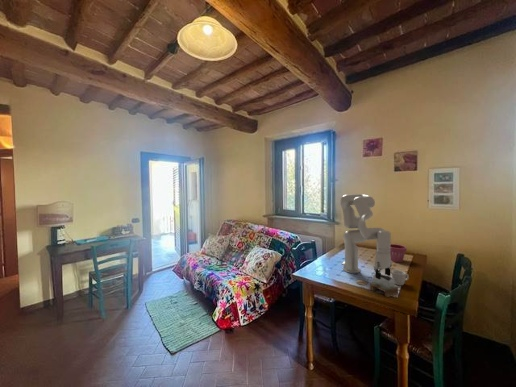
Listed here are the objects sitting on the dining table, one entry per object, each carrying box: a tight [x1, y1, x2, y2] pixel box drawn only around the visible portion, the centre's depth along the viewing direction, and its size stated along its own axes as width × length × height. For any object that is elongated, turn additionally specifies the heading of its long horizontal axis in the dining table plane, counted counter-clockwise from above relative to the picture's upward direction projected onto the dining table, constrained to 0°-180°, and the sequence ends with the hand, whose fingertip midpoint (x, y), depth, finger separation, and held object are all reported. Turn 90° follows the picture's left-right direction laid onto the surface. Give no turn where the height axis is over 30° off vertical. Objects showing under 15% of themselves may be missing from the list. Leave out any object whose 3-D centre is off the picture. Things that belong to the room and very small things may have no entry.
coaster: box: [355, 279, 368, 286], centre depth 154 cm, size 7×7×1 cm
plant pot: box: [390, 243, 407, 263], centre depth 197 cm, size 14×14×13 cm
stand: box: [369, 281, 399, 298], centre depth 142 cm, size 12×10×4 cm
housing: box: [372, 273, 395, 289], centre depth 142 cm, size 10×6×5 cm, turn 28°
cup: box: [391, 269, 409, 286], centre depth 152 cm, size 11×8×8 cm
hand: (382, 276), depth 142 cm, fingers open, 9 cm apart
